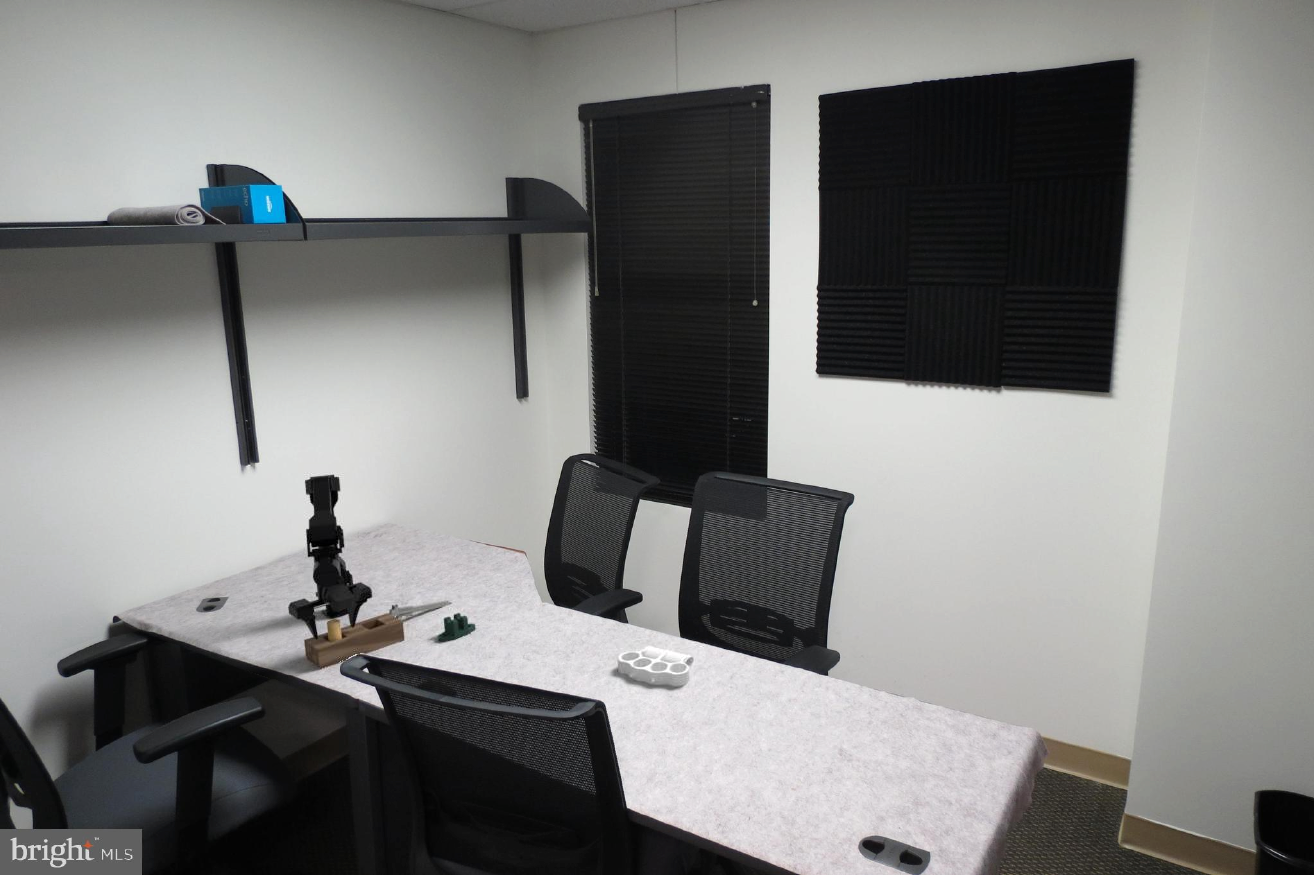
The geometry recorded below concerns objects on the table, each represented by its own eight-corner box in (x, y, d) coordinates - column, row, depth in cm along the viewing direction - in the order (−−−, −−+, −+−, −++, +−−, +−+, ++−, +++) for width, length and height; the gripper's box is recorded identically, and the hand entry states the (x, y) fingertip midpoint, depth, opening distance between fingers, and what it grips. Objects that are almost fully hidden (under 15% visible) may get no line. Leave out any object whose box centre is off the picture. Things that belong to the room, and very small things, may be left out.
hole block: (306, 659, 219) (304, 639, 218) (389, 631, 234) (387, 613, 233) (320, 669, 213) (318, 650, 212) (404, 640, 228) (402, 621, 227)
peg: (328, 656, 220) (324, 621, 218) (340, 652, 222) (336, 618, 220) (333, 659, 218) (330, 625, 216) (345, 655, 220) (341, 621, 218)
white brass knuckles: (705, 668, 210) (675, 695, 197) (639, 652, 219) (606, 678, 206) (705, 655, 209) (675, 681, 197) (639, 639, 218) (606, 664, 206)
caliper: (392, 629, 235) (390, 607, 234) (389, 629, 236) (387, 606, 235) (452, 604, 251) (450, 582, 250) (449, 603, 252) (448, 582, 251)
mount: (443, 644, 225) (442, 626, 224) (433, 640, 228) (432, 621, 227) (479, 630, 233) (478, 612, 232) (469, 626, 236) (468, 608, 235)
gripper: (303, 592, 204) (311, 656, 207) (380, 570, 216) (385, 630, 220) (284, 580, 212) (291, 641, 215) (358, 559, 224) (364, 618, 227)
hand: (334, 633), depth 219 cm, fingers open, 9 cm apart
